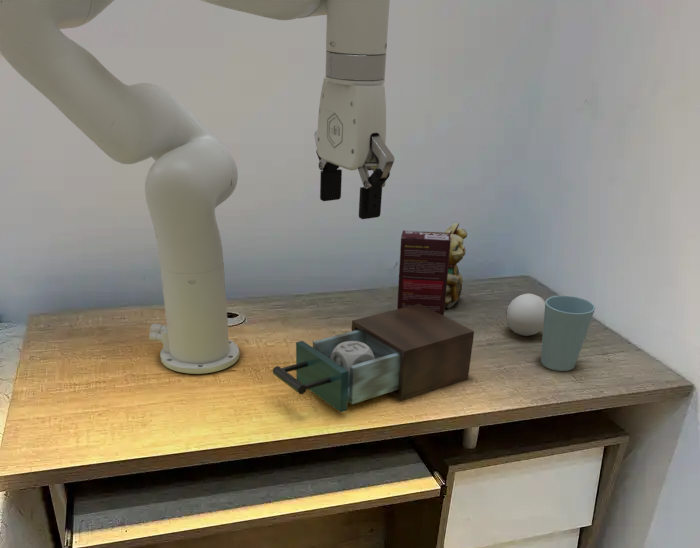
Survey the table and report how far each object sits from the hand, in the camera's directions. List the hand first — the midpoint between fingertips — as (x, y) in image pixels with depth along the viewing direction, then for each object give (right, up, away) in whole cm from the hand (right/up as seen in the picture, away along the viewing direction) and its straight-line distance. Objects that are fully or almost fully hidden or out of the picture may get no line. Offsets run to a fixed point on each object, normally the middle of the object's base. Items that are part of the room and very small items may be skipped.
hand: (349, 208), depth 102 cm
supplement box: (+13, -9, +33) cm, 37 cm away
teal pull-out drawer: (-2, -24, +8) cm, 26 cm away
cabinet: (+9, -21, +16) cm, 28 cm away
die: (0, -23, +9) cm, 24 cm away
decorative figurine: (+17, -4, +42) cm, 45 cm away
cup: (+35, -19, +20) cm, 44 cm away
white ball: (+31, -11, +31) cm, 45 cm away
